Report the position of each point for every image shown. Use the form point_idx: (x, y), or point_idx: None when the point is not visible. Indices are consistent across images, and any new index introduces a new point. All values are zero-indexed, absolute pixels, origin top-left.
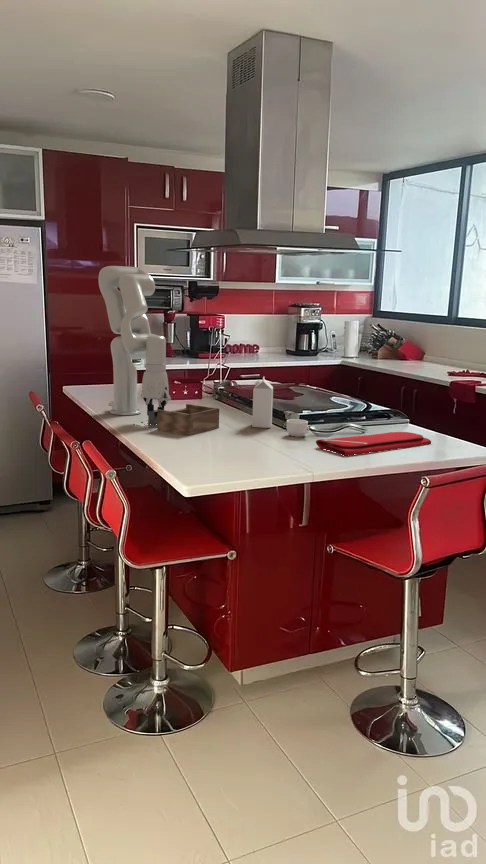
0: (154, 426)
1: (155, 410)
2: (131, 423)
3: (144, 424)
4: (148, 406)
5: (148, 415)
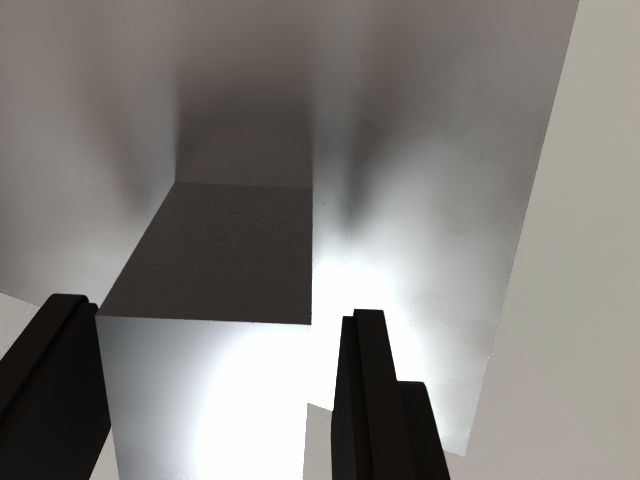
0: (65, 69)
1: (233, 467)
2: (601, 38)
3: (333, 108)
4: (368, 468)
5: (306, 264)
